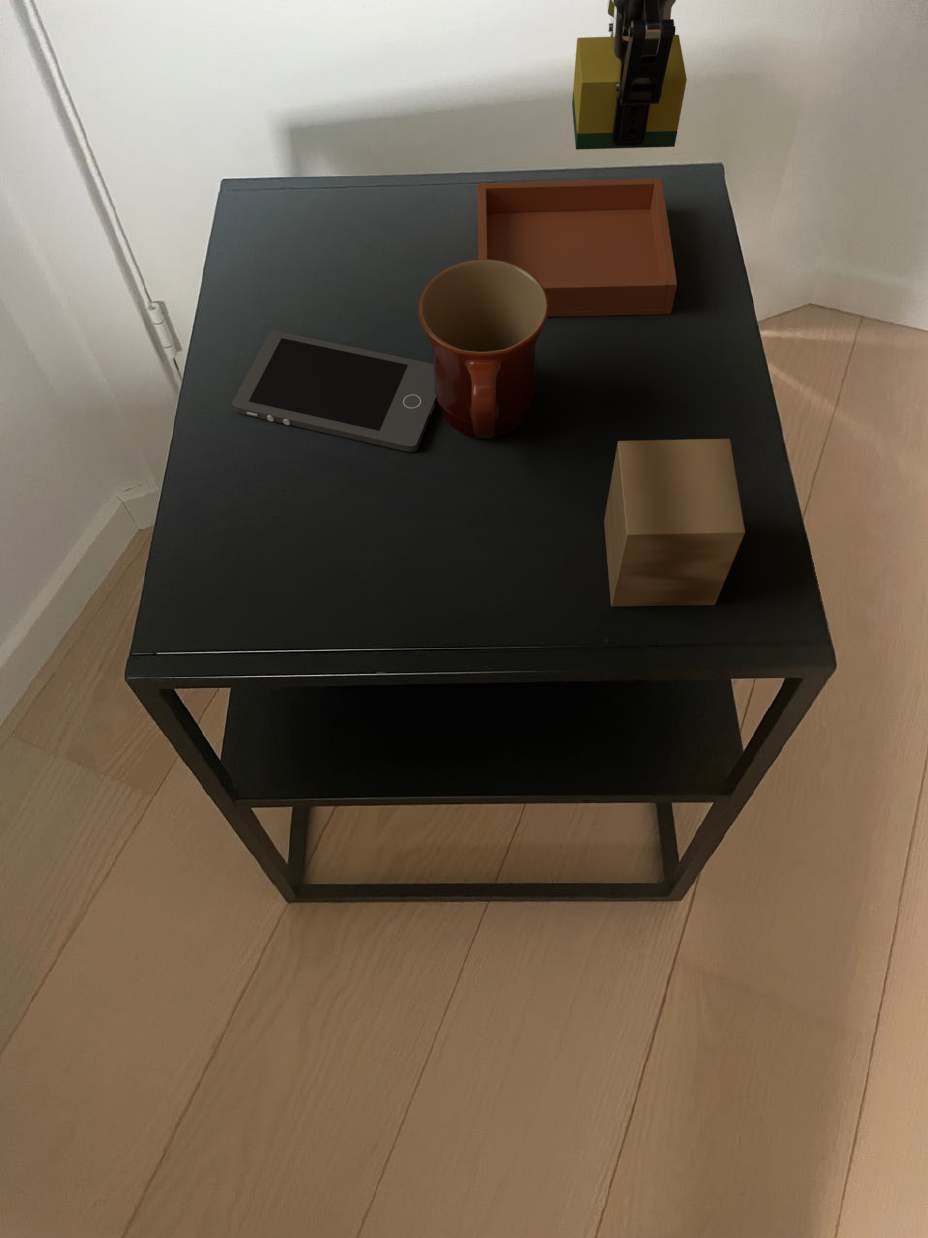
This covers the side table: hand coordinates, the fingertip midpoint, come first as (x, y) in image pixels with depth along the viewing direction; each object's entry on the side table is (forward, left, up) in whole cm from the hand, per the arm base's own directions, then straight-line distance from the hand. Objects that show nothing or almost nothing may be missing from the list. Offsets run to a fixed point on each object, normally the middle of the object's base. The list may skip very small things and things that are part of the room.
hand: (624, 115), depth 68 cm
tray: (+3, +1, -13) cm, 13 cm away
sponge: (0, 0, -1) cm, 1 cm away
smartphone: (+18, +18, -13) cm, 29 cm away
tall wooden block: (-7, +29, -13) cm, 32 cm away
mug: (+7, +19, -13) cm, 24 cm away
